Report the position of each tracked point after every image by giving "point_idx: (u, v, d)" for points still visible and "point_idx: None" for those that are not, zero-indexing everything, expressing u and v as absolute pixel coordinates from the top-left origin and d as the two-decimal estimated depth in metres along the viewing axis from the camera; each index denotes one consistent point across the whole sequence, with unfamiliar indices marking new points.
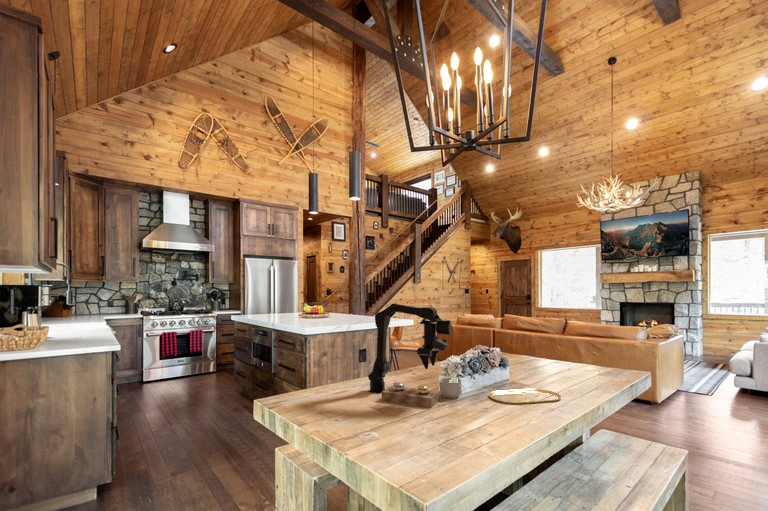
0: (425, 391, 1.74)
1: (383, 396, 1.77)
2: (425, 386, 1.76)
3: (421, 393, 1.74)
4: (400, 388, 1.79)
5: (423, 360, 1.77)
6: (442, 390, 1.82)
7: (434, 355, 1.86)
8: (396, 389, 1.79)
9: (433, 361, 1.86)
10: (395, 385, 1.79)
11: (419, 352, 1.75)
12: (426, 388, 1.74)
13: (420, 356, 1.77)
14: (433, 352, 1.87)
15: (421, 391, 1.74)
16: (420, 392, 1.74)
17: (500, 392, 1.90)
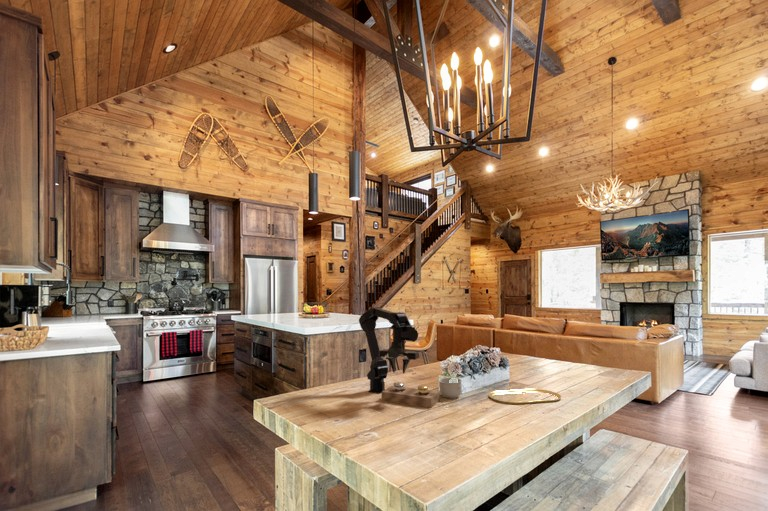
0: (425, 391, 1.74)
1: (383, 396, 1.77)
2: (425, 386, 1.76)
3: (421, 393, 1.74)
4: (400, 388, 1.79)
5: None
6: (442, 390, 1.82)
7: None
8: (396, 389, 1.79)
9: None
10: (395, 385, 1.79)
11: None
12: (426, 388, 1.74)
13: None
14: None
15: (421, 391, 1.74)
16: (420, 392, 1.74)
17: (500, 392, 1.90)
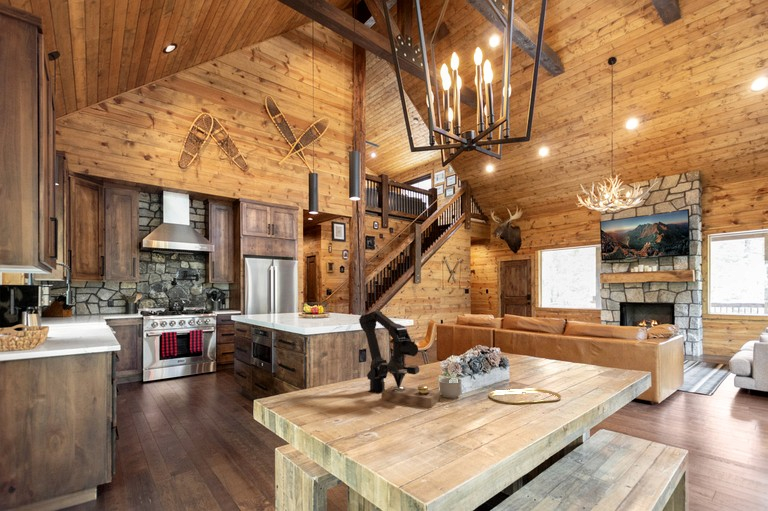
0: (425, 391, 1.74)
1: (383, 396, 1.77)
2: (425, 386, 1.76)
3: (421, 393, 1.74)
4: (400, 391, 1.79)
5: None
6: (442, 390, 1.82)
7: None
8: None
9: None
10: (395, 388, 1.79)
11: None
12: (426, 388, 1.74)
13: None
14: None
15: (421, 391, 1.74)
16: (420, 392, 1.74)
17: (500, 392, 1.90)
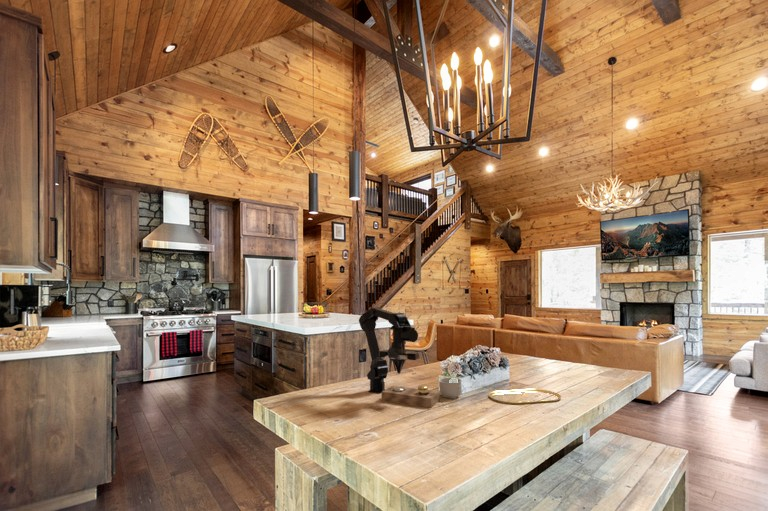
0: (425, 391, 1.74)
1: (383, 396, 1.77)
2: (425, 386, 1.76)
3: (421, 393, 1.74)
4: None
5: None
6: (442, 390, 1.82)
7: None
8: None
9: None
10: (395, 390, 1.79)
11: None
12: (426, 388, 1.74)
13: None
14: None
15: (421, 391, 1.74)
16: (420, 392, 1.74)
17: (500, 392, 1.90)
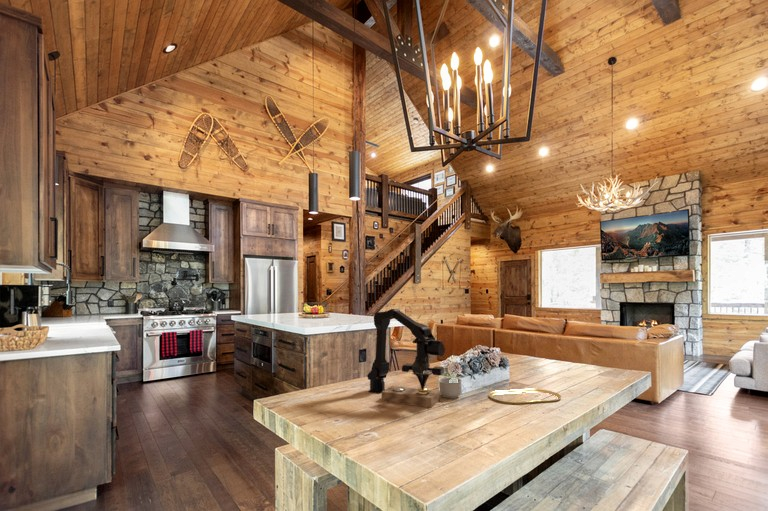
0: (425, 393, 1.74)
1: (383, 396, 1.77)
2: (425, 388, 1.76)
3: None
4: None
5: None
6: (442, 390, 1.82)
7: None
8: None
9: None
10: (395, 390, 1.79)
11: None
12: (426, 390, 1.74)
13: None
14: None
15: (421, 393, 1.74)
16: (420, 394, 1.74)
17: (500, 392, 1.90)
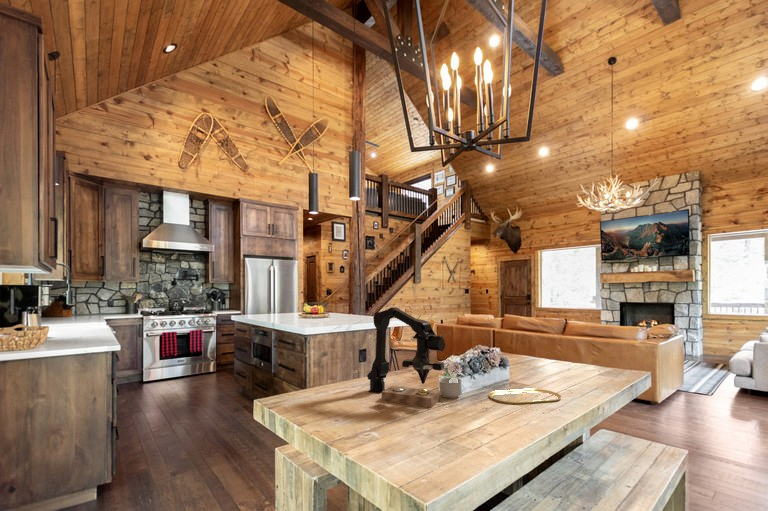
0: (425, 394, 1.74)
1: (383, 396, 1.77)
2: (425, 389, 1.76)
3: None
4: None
5: None
6: (442, 390, 1.82)
7: None
8: None
9: None
10: (395, 390, 1.79)
11: None
12: (426, 391, 1.74)
13: None
14: None
15: (421, 394, 1.74)
16: None
17: (500, 392, 1.90)
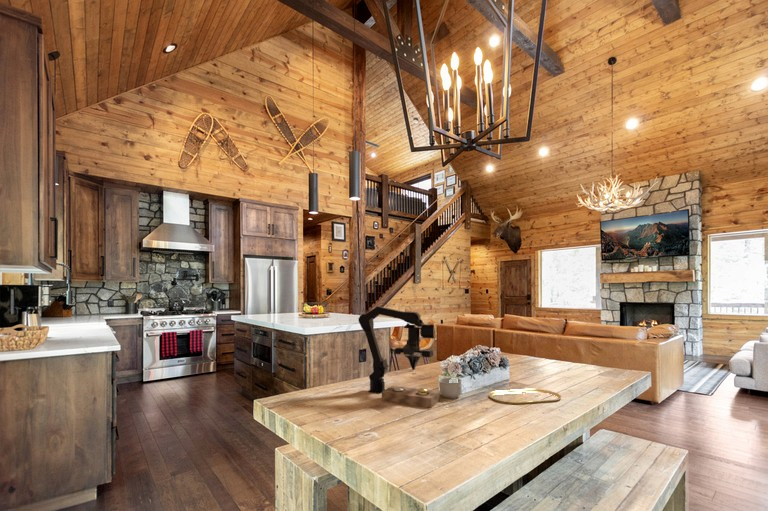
0: (425, 394, 1.74)
1: (383, 396, 1.77)
2: (425, 389, 1.76)
3: None
4: None
5: None
6: (442, 390, 1.82)
7: None
8: None
9: None
10: (395, 390, 1.79)
11: None
12: (426, 391, 1.74)
13: None
14: None
15: (421, 394, 1.74)
16: None
17: (500, 392, 1.90)
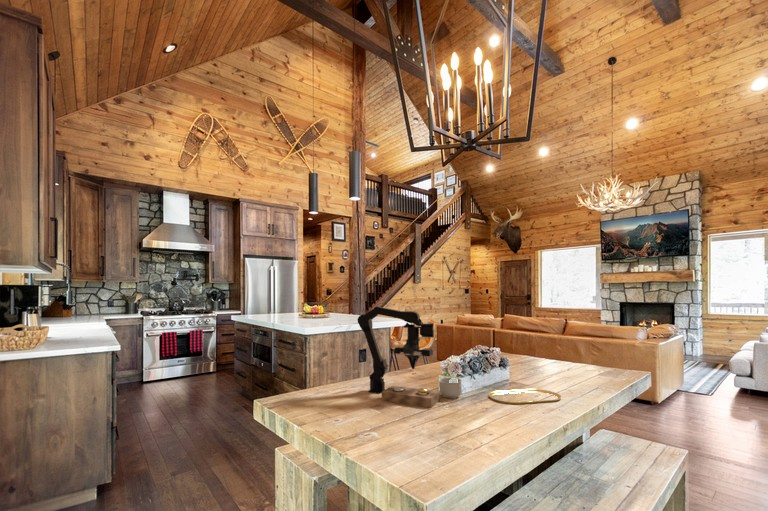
0: (425, 394, 1.74)
1: (383, 396, 1.77)
2: (425, 389, 1.76)
3: None
4: None
5: None
6: (442, 390, 1.82)
7: None
8: None
9: None
10: (395, 390, 1.79)
11: None
12: (426, 391, 1.74)
13: None
14: None
15: (421, 394, 1.74)
16: None
17: (500, 392, 1.90)
